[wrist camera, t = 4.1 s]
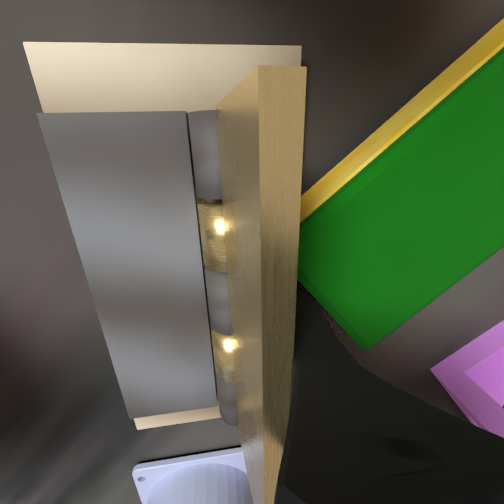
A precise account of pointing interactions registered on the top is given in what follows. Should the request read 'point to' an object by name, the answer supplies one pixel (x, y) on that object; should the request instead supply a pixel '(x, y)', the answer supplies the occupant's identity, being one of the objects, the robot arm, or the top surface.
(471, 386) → the bracket
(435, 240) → the dish sponge
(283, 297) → the strip
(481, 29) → the top surface
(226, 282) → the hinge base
